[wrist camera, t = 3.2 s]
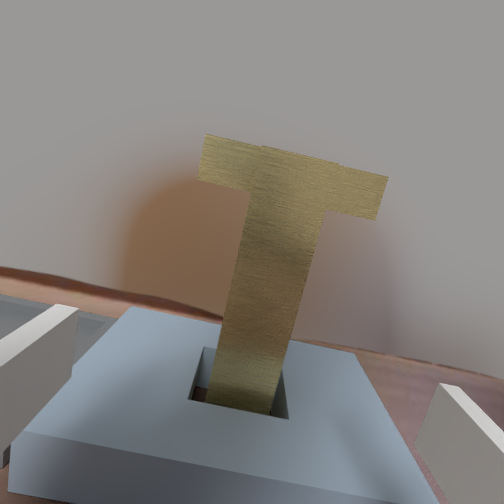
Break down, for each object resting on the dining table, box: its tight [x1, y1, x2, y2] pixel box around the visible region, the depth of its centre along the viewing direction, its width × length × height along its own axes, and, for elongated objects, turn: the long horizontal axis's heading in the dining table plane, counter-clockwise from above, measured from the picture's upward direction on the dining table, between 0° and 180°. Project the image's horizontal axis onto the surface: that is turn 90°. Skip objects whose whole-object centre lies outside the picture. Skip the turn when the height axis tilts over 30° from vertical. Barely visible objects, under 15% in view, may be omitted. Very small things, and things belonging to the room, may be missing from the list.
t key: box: [198, 134, 388, 416], centre depth 20 cm, size 10×4×18 cm, turn 90°
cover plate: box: [8, 306, 440, 504], centre depth 22 cm, size 20×14×4 cm
